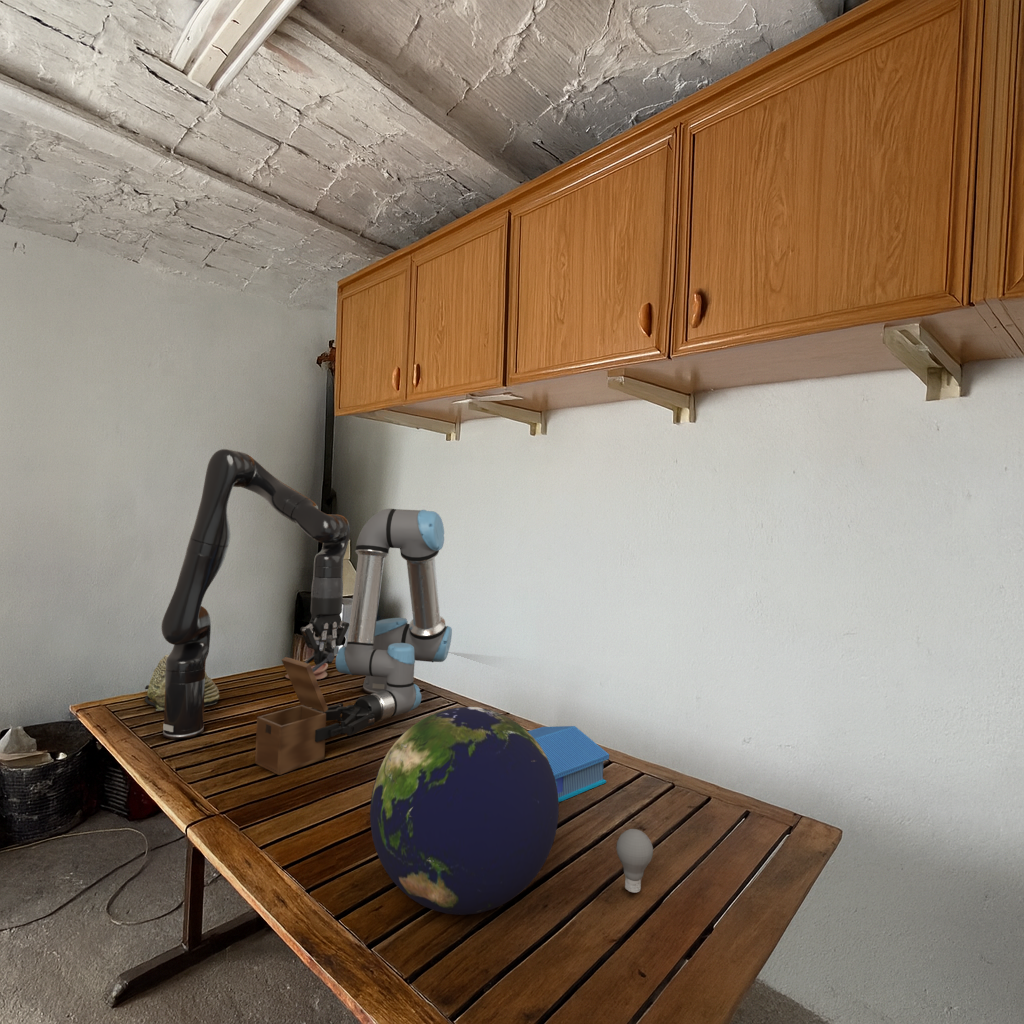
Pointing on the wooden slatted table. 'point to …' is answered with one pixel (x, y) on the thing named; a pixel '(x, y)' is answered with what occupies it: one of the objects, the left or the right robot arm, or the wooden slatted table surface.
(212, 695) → the fossil
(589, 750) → the model building
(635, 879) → the light bulb
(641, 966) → the wooden slatted table surface
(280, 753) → the chest
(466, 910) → the globe
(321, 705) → the lid
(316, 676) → the anatomical model
